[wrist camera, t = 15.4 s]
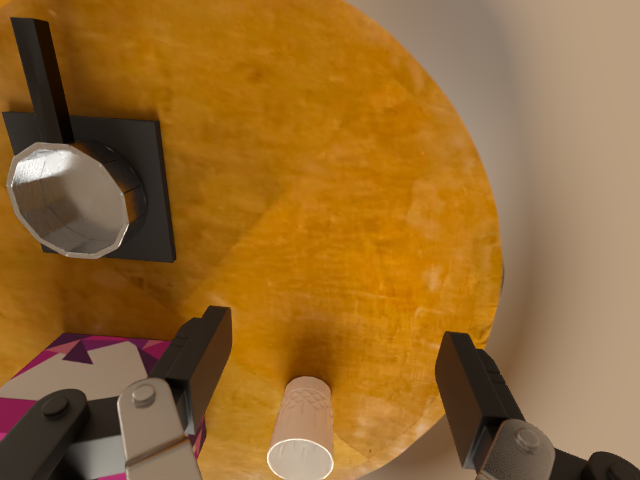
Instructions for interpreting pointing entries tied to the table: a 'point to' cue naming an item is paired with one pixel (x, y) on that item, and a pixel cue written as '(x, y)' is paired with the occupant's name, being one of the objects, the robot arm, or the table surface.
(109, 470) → the robot arm
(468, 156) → the table surface
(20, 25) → the steel pan
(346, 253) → the table surface
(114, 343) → the decorative box
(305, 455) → the white cup
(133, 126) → the trivet
